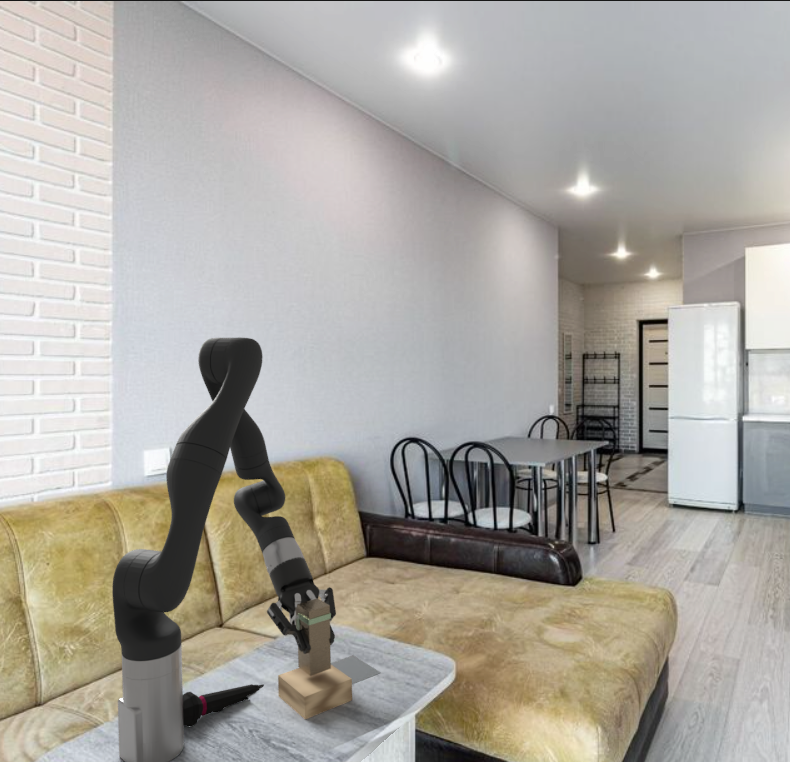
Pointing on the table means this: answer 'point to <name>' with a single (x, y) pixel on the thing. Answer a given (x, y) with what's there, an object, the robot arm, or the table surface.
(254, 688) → the microphone
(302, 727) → the table surface
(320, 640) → the column
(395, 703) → the table surface
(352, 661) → the coaster
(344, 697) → the rest block
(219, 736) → the table surface
